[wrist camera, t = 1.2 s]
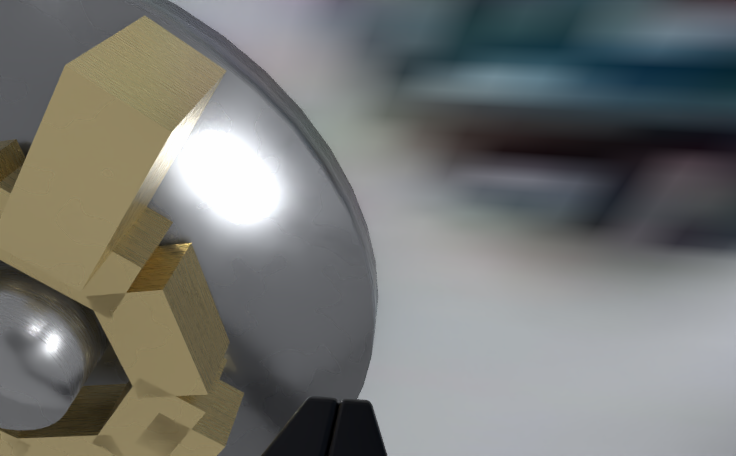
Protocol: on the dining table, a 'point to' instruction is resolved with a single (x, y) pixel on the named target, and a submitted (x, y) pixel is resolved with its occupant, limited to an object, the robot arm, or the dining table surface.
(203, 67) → the gold block ring
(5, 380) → the grey round shallow disc
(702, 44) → the dining table surface
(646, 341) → the dining table surface
